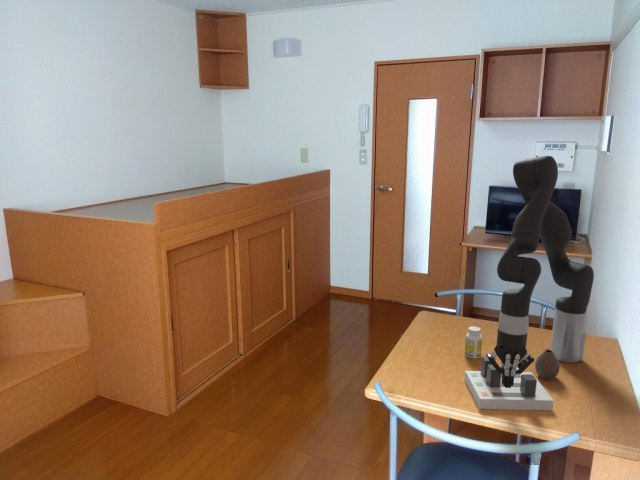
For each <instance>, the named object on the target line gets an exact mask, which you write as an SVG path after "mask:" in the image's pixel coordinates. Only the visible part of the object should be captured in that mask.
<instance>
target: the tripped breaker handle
mask: <svg viewBox="0 0 640 480" xmlns="http://www.w3.org/2000/svg"><path fill="white" fill-rule="evenodd" d="M533 375H534V374H533ZM533 375H530V374H522V375H521V384H520V391H521V393H522V394H523V396H524V397H535V393H536V384H537V380H538V379H537V378H536V377H534V376H535V375H534V376H533ZM536 379H537V380H536Z"/></svg>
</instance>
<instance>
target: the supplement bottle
mask: <svg viewBox="0 0 640 480" xmlns="http://www.w3.org/2000/svg"><path fill="white" fill-rule="evenodd" d="M481 333H482V331H481V327H478V326H472V325H471V326H469V327H468V330H467V333H466V335H465V343H464V355H465V356H466V357H467V358H470V359H479V358H482V345H483V336H482V334H481Z"/></svg>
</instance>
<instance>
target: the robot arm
mask: <svg viewBox="0 0 640 480" xmlns="http://www.w3.org/2000/svg"><path fill="white" fill-rule="evenodd" d="M558 170H559V169H558V164H557V161H556V160H555V158H554V156H551V155H542V156H534V157H528V158H523V159H520V160H516V161H515V162H514V164H513V167H512V176H513V180H514V182H515V185H516V188H517V189H518V191H519V193H520V195H521V197H522V199H523V201H524V203H525V204H526V205H525V206H524V207H523V208H522V209H521V211H519V212H518V215H517V216H516V218H515V220H514V223H513V226H512V229H511V236H510V240H509V242H508V245H507V247H506V248H505V251H504V253H503V254H502V256H501V257H500V259H499V262H498V263H497V267H496V274H497V276H498V278H499V279H500V281H501V280H502V281H503V282H509V283H515V284H521V285H522V284H523V287H520V288H511V289H506V290H504V291H503V292H502V295H501V303H500V304H501V306H500V313H499V317H498V322H497V323H498V324H497V325H498V326H497V335H496V346H495V347H494V349H493V350H494V351H492V352H487V353H486V354H485V356H486V357H487V358H488V359H489V361H490V362H491V364H492V365H493V366H494V368H495V369H496V370H497V372H498V373H499V374H502V381H501V382H502V384H503V385H504V387H505V388H511V386H513V384H514V376H515V375H516V374H521V373H522V372H525V371H526V370H527V369H528V367H530V365H531V364H532V363H534V361H535V358H534V357H533V356H532V355H531V354H530V353H528V350H527V341H528V331H529V323H530V321H529V320H530V319H529V316H530V315H529V314H530V305H531V304H530V303H531V299H532V295H533V292H534V289H535V288H536V287H535V286H536V285H537V283H538V280H539V278H540V276H541V274H542V265H541V263H540V260H538V259H537V258H534V257H526V256H521V255H528V254H533V253H535V252H536V251H537V249H538V246H539V241H541V243H542V246H543V249H544V252H545V254H546V257H547V260H548V264H549V267H550V271H551V275H552V279H553V281H554V282H555V285H558V286H559V287H561V288H564V289H566V290H571V291H572V292H571V294H570V296H561V297H557V299H556V301H555V306H554V307H555V308H554V314H553V325H552V331H551V339H550V340H551V341H550V346H549V347H550V348H549V350H552V351H553V353H554V355H555V356H556V358H557V359H558V361H559V362H561V363H562V362H563V363H569V364H570V363H571V364H572V363H573V364H574V363H575V364H576V363H578V362H583V359H584V353H585V344H586V337H587V334H586V333H585V332H584V330H585V323H586V316H587V309H588V306H589V303H590V301H591V299H590V298H591V294H592V288H593V284H594V278H595V275H594V269H593V267H592V266H590V265H588V264H585V263H581V262H576V261H574V260H570V259H569V257H568V255H567V253H566V249H567V247H568V245H569V243H570V241H571V240H572V238H573V237H572V236H573V233H572V232H573V230H572V226H571V225H570V222H569V219H568V216H567V214H566V212H564V210H562V209H561V208H560V207H559V206H557V205H556V204H554V203H553V202H552V201H551V200H552V196H553V193H554V190H555V188H556V184H557V182H558V175H559V171H558ZM497 357H498V359H499V360H500V364H501V366H500V365H499V364H498V363H497Z"/></svg>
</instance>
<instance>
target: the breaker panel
mask: <svg viewBox="0 0 640 480" xmlns="http://www.w3.org/2000/svg"><path fill="white" fill-rule="evenodd" d="M480 367H481V369H480V370H464V371H465V372H464V382H465V383H466V385H467V387H468V389H469V391H470V393H471V396H472V397H473V399H474V402H475V403H476V405H477V407H478V409H480V410H522V411H526V410H527V411H533V410H534V411H553V409H554V402H555V400H554V399H553V397H552V396H551V395H550V394H549V392H548V391H547V390H546V389H545V388H544V386H543V385H542V384H541V383H540V381H539V380H538V379H537V378H536V377H535V374H533V372H531V371H523V372H522V373H521V374H516V375H515V376H514V384H513V386H511V388H505V387H504V385H503V384H502V382H501V381H502V374H499V373H498V372H497V370H496V369H495V368H494V366H493V365H492V364H491V362H490V361H489V359H488V358H487V357H486V355H481V366H480ZM522 374H530V375H533V376H534V377H535V378H536V380H537V384H536V393H535V397H524V396H523V394H522V393H521V391H520V384H521V375H522Z"/></svg>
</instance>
